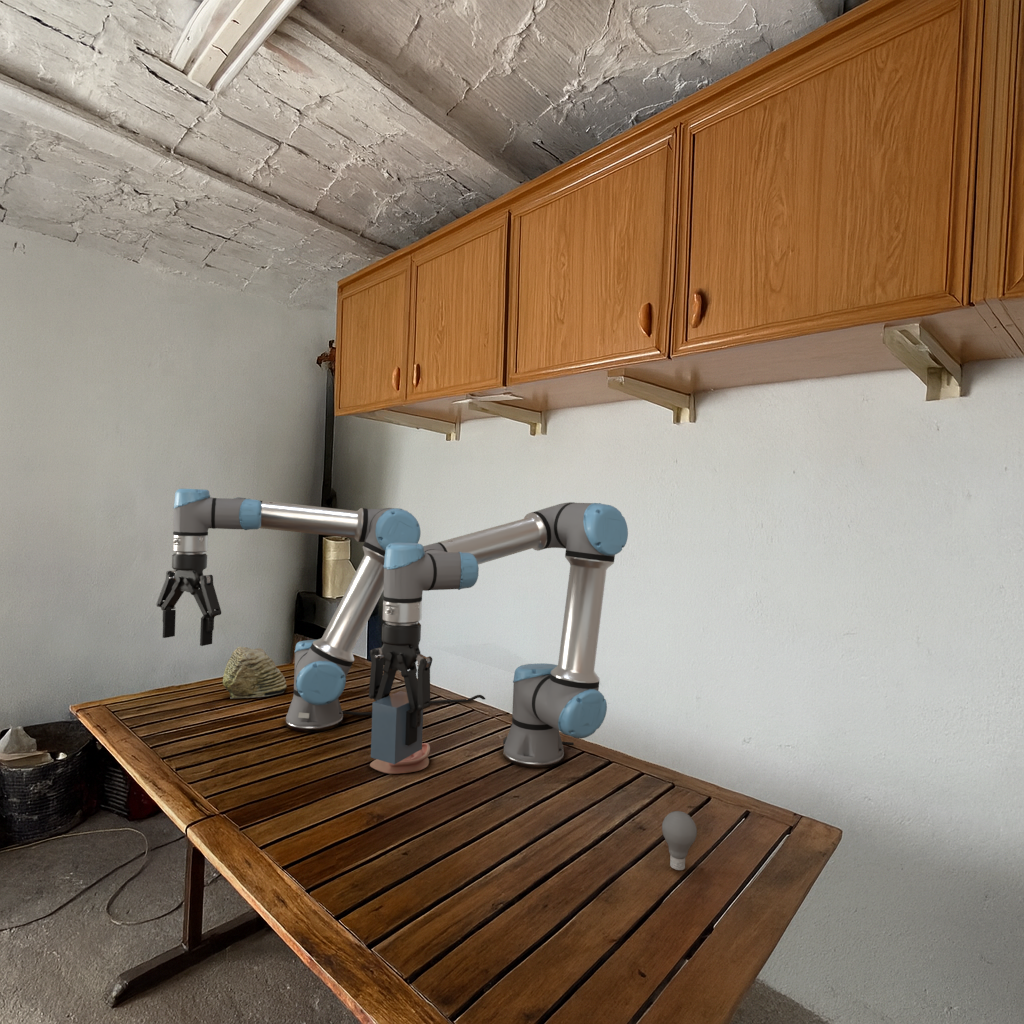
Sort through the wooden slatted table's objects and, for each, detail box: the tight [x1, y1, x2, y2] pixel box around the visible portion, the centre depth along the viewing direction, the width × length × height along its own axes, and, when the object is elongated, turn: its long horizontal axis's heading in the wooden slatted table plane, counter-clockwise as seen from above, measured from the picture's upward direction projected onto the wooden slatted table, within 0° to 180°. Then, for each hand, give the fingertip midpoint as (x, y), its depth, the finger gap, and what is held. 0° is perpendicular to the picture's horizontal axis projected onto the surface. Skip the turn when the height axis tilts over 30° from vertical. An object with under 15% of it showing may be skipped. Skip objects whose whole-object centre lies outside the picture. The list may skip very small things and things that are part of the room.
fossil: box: [222, 646, 288, 699], centre depth 198 cm, size 9×18×15 cm, turn 132°
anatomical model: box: [369, 742, 431, 775], centre depth 151 cm, size 13×4×12 cm
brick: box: [370, 690, 424, 764], centre depth 124 cm, size 9×6×11 cm, turn 152°
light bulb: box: [661, 810, 698, 871], centre depth 113 cm, size 6×6×10 cm
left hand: (187, 640), depth 153 cm, fingers open, 13 cm apart
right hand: (397, 739), depth 124 cm, fingers closed on brick, 6 cm apart
